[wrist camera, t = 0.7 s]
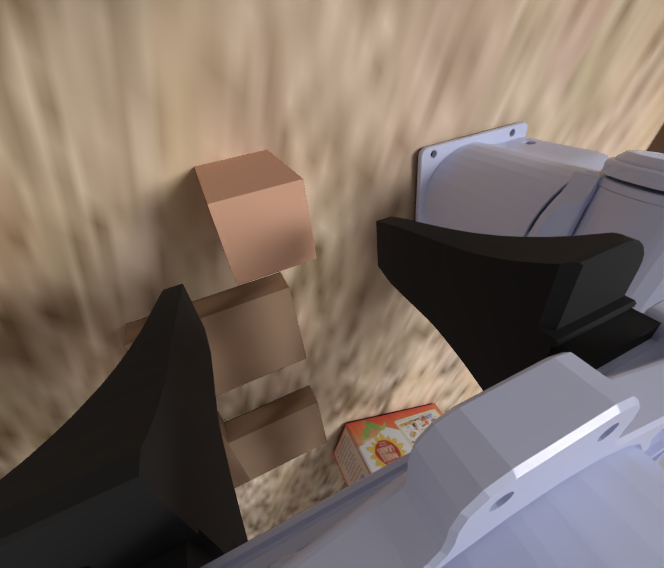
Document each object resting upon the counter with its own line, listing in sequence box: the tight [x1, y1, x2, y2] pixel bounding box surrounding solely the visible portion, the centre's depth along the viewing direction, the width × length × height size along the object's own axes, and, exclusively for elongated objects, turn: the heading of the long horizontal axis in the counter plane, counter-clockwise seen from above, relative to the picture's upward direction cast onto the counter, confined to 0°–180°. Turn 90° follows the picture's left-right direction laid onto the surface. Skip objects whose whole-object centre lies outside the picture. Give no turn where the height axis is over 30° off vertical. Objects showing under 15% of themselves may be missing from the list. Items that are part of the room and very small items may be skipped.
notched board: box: [124, 273, 327, 488], centre depth 27 cm, size 10×20×2 cm, turn 8°
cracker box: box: [333, 404, 443, 487], centre depth 33 cm, size 14×6×21 cm, turn 74°
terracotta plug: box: [195, 150, 317, 285], centre depth 17 cm, size 4×4×6 cm
